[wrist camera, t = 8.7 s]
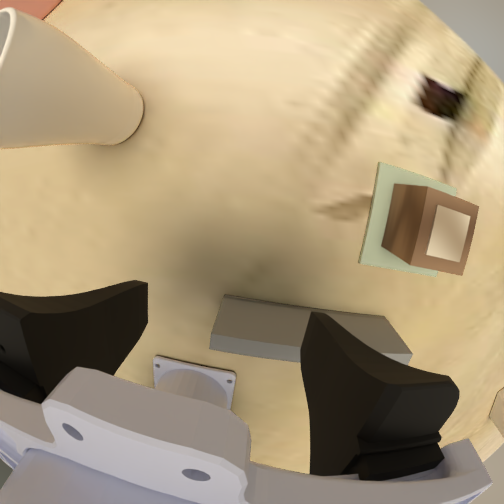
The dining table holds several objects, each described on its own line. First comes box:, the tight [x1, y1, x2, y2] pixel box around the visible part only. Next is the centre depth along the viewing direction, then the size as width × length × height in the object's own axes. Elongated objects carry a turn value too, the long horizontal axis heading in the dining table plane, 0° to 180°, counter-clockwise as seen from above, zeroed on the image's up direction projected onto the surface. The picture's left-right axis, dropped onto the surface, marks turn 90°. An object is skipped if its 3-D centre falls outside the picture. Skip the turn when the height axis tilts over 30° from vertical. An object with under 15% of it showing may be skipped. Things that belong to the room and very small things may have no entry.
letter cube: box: [381, 184, 479, 276], centre depth 17 cm, size 5×5×5 cm
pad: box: [359, 162, 457, 277], centre depth 19 cm, size 8×8×1 cm
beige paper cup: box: [0, 7, 143, 149], centre depth 11 cm, size 7×7×15 cm
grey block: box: [209, 295, 413, 365], centre depth 20 cm, size 4×14×6 cm, turn 81°
